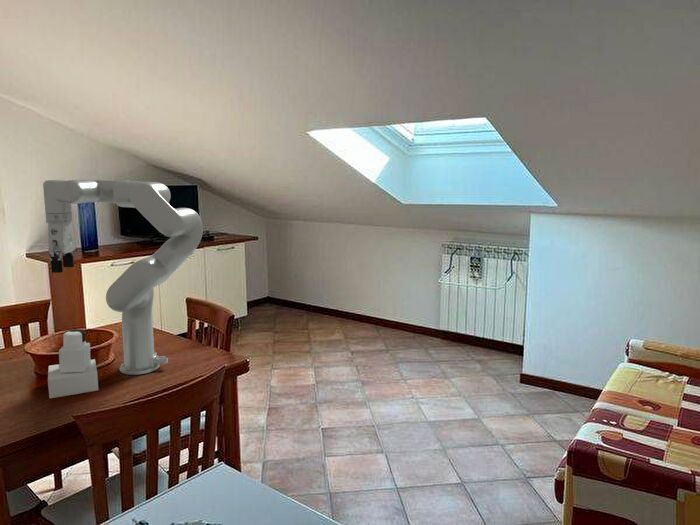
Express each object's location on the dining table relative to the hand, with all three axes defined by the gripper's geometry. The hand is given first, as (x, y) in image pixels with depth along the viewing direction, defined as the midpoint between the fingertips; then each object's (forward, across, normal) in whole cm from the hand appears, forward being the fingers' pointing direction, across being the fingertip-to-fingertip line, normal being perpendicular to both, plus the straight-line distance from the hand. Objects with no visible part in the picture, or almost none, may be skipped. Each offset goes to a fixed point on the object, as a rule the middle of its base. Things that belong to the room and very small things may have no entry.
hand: (63, 269), depth 172 cm
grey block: (+34, -19, -8) cm, 39 cm away
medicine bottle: (+28, -19, -8) cm, 35 cm away
